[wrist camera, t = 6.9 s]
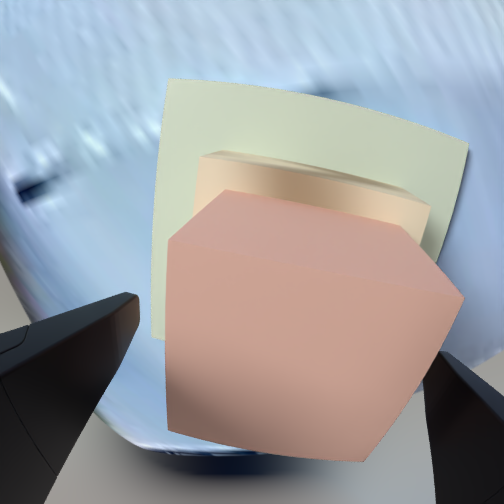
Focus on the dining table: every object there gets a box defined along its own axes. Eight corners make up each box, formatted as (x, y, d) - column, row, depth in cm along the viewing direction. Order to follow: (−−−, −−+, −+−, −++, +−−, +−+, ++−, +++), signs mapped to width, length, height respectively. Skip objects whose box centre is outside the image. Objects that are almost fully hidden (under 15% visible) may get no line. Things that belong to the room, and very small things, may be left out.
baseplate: (463, 142, 12) (469, 143, 11) (380, 374, 17) (382, 381, 17) (173, 80, 13) (168, 78, 12) (155, 331, 18) (151, 337, 18)
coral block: (399, 225, 10) (465, 298, 5) (349, 361, 12) (363, 461, 8) (225, 189, 10) (168, 240, 6) (207, 335, 13) (168, 430, 8)
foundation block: (401, 187, 13) (431, 206, 10) (353, 336, 16) (362, 381, 13) (222, 149, 13) (199, 156, 10) (203, 307, 16) (182, 348, 13)
